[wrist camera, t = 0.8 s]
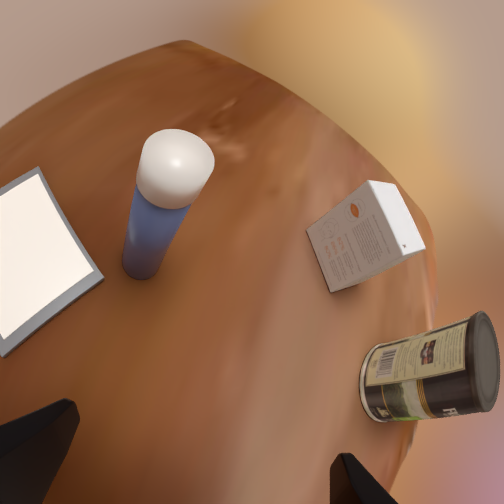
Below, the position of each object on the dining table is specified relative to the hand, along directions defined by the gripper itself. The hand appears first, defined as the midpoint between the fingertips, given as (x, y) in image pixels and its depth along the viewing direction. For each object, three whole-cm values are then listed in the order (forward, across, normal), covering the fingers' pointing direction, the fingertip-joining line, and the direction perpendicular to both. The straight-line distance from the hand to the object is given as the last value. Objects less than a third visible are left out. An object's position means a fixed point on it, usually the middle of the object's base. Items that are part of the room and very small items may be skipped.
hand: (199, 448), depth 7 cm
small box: (+27, -10, -1) cm, 29 cm away
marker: (+16, +8, 0) cm, 18 cm away
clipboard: (+10, +18, -1) cm, 21 cm away
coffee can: (+20, -19, +12) cm, 30 cm away
